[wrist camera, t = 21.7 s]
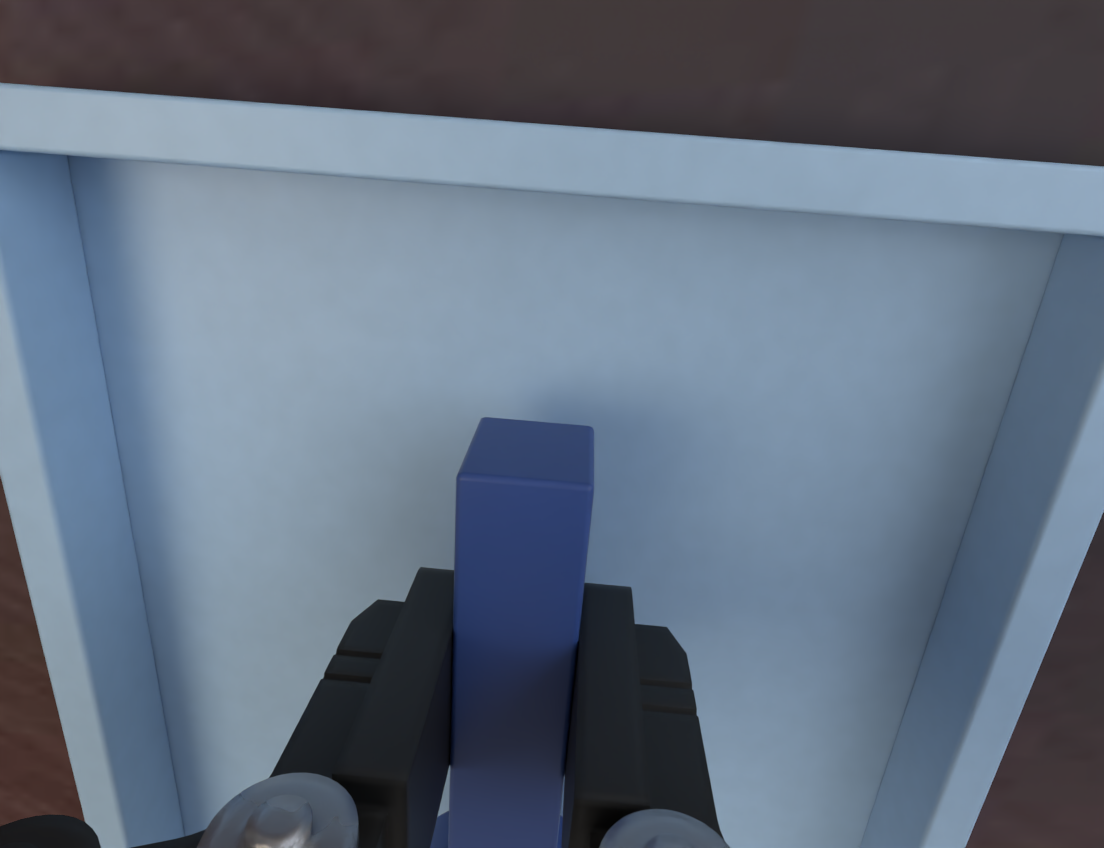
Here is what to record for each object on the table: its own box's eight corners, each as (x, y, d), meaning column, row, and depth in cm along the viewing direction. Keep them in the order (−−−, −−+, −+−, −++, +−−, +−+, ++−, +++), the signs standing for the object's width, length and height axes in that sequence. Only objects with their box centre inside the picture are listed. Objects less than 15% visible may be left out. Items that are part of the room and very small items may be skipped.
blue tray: (35, 90, 9) (-102, 75, 8) (1111, 172, 9) (1245, 177, 7) (189, 932, 16) (135, 1036, 14) (824, 1001, 15) (855, 1117, 14)
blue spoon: (408, 408, 9) (367, 465, 7) (668, 430, 9) (684, 493, 7) (412, 921, 13) (384, 1037, 11) (594, 940, 13) (594, 1060, 11)
